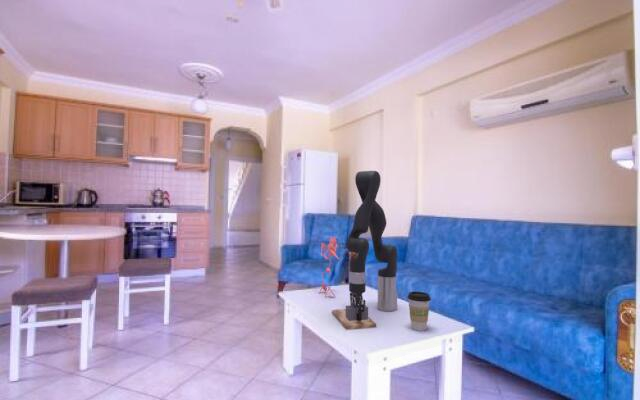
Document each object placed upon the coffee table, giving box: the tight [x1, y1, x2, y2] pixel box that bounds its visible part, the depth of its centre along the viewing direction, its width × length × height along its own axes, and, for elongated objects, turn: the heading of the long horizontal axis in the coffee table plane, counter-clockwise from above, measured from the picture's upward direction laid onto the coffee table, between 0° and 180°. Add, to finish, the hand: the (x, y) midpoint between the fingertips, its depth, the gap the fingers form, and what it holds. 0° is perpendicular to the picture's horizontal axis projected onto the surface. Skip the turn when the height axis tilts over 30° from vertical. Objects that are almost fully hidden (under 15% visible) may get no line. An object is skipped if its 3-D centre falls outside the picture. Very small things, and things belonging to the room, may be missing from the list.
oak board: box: [331, 308, 377, 331], centre depth 154 cm, size 14×22×2 cm, turn 14°
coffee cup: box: [407, 291, 432, 332], centre depth 145 cm, size 10×10×15 cm
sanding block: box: [345, 304, 369, 323], centre depth 150 cm, size 10×5×6 cm, turn 104°
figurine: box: [318, 236, 340, 298], centre depth 198 cm, size 15×26×35 cm, turn 22°
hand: (357, 318), depth 150 cm, fingers closed on sanding block, 4 cm apart
